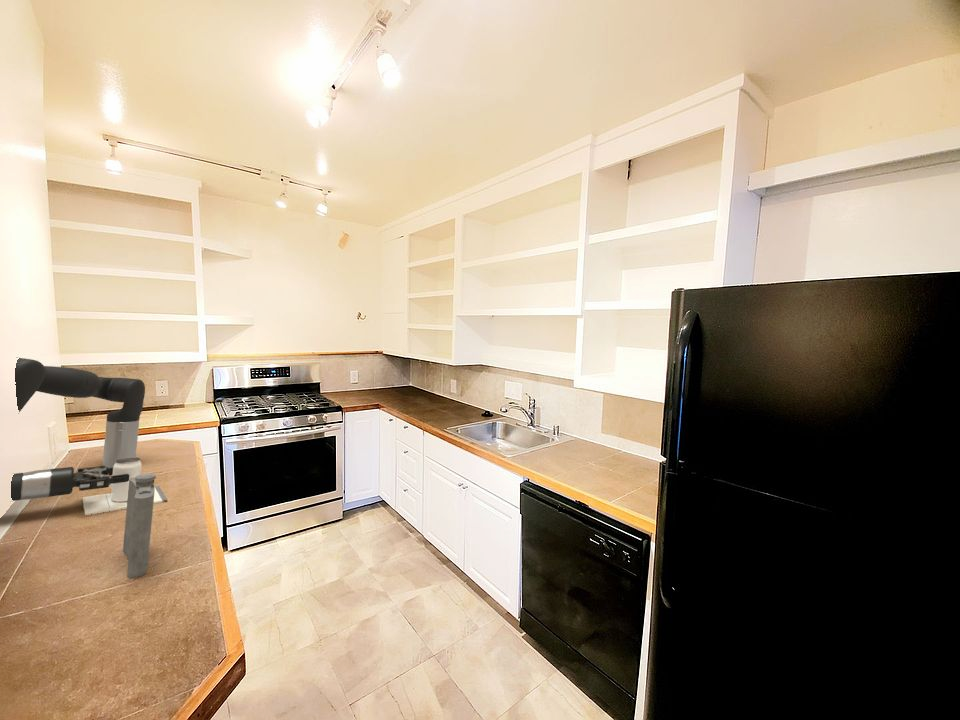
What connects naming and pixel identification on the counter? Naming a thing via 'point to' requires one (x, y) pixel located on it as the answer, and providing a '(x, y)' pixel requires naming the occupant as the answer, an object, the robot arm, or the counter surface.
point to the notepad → (106, 504)
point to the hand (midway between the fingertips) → (127, 473)
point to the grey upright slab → (138, 523)
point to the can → (124, 467)
